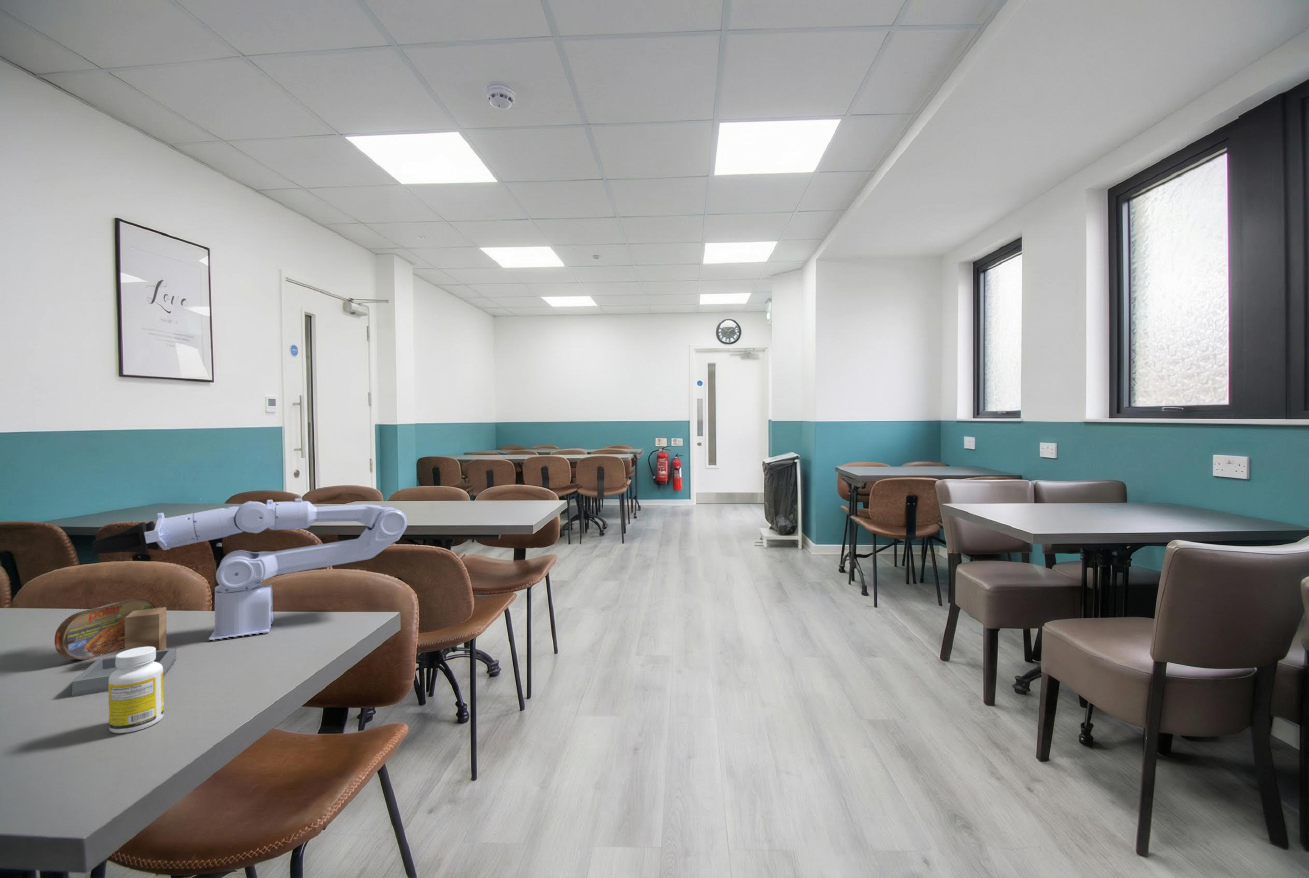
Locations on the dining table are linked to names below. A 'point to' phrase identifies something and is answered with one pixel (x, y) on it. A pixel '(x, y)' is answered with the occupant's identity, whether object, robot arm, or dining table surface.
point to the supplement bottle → (135, 691)
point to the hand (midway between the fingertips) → (99, 546)
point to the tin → (96, 629)
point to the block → (146, 629)
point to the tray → (102, 668)
